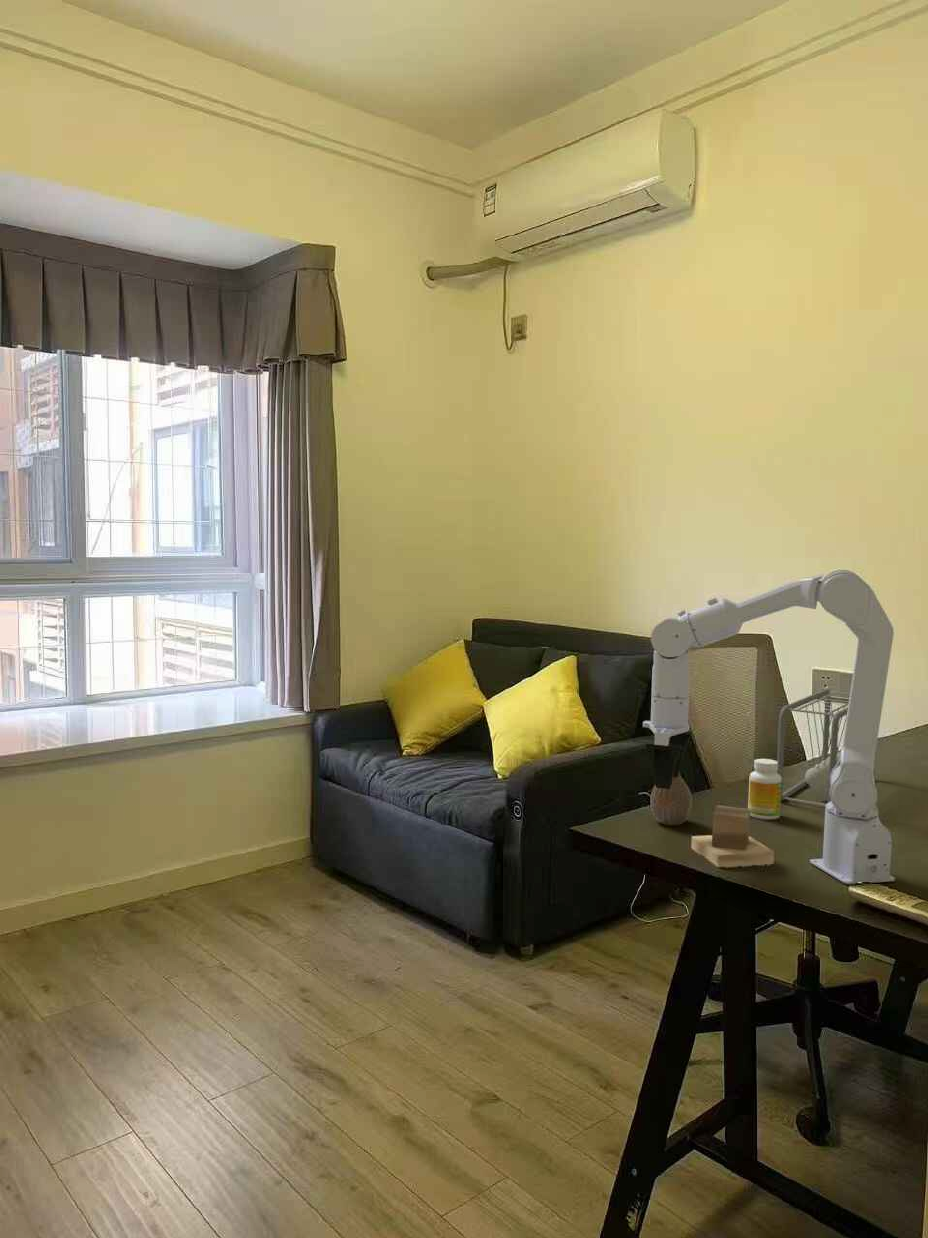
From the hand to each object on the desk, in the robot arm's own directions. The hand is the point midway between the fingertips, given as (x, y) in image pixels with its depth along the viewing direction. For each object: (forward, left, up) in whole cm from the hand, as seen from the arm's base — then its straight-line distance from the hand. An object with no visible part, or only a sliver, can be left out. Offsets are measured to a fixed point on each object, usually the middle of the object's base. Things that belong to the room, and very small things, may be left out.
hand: (667, 782), depth 153 cm
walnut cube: (-5, -8, -8) cm, 13 cm away
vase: (+12, -6, -11) cm, 18 cm away
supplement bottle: (+14, -24, -11) cm, 30 cm away
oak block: (-6, -8, -11) cm, 15 cm away
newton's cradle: (+27, -46, -11) cm, 54 cm away
